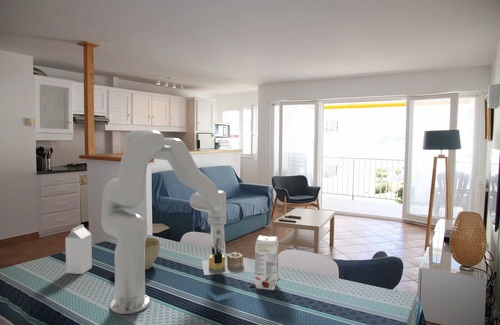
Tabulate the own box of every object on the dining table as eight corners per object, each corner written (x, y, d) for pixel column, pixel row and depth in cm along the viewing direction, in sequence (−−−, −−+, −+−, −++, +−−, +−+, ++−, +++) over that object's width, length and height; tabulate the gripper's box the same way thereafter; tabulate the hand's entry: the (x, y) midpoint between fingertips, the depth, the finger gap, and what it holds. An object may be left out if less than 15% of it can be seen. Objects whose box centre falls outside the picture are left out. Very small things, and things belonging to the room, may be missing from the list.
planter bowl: (154, 274, 139) (153, 249, 138) (115, 273, 140) (114, 248, 139) (164, 260, 155) (164, 237, 154) (129, 259, 156) (129, 236, 155)
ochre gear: (225, 269, 142) (225, 258, 142) (209, 270, 141) (209, 259, 141) (223, 263, 149) (223, 253, 149) (208, 264, 148) (208, 254, 147)
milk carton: (92, 267, 145) (91, 224, 144) (82, 274, 138) (81, 229, 137) (76, 266, 146) (75, 223, 145) (66, 273, 139) (64, 228, 138)
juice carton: (276, 291, 126) (277, 241, 124) (253, 289, 127) (254, 240, 126) (278, 283, 133) (279, 235, 132) (256, 281, 135) (257, 234, 133)
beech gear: (245, 266, 146) (246, 256, 146) (232, 269, 142) (232, 259, 142) (237, 261, 151) (237, 251, 151) (224, 264, 148) (224, 254, 147)
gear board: (252, 275, 140) (252, 258, 140) (204, 278, 136) (204, 261, 136) (245, 261, 156) (245, 246, 155) (201, 263, 152) (201, 248, 151)
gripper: (228, 224, 136) (228, 266, 137) (223, 214, 153) (222, 251, 154) (210, 225, 134) (209, 267, 136) (206, 215, 151) (206, 252, 152)
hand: (216, 259), depth 145 cm, fingers open, 9 cm apart
